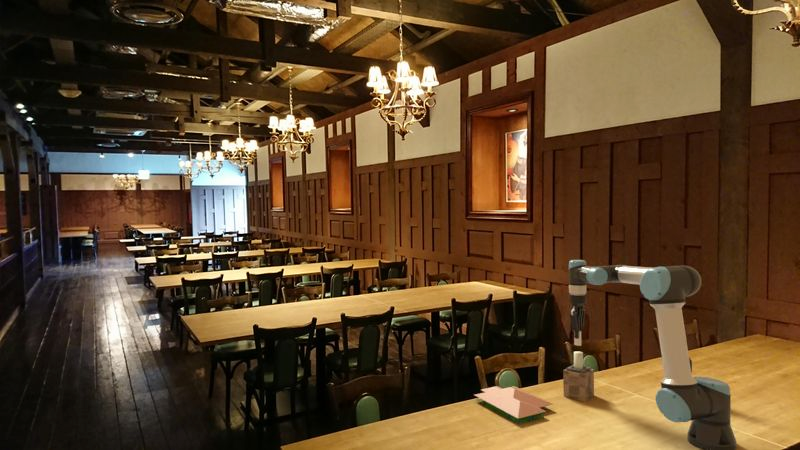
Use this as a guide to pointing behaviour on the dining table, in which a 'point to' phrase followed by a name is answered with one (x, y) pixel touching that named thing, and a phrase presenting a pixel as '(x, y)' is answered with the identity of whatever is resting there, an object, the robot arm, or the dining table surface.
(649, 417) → the dining table surface
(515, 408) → the house
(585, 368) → the socket block
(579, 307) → the robot arm
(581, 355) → the peg
